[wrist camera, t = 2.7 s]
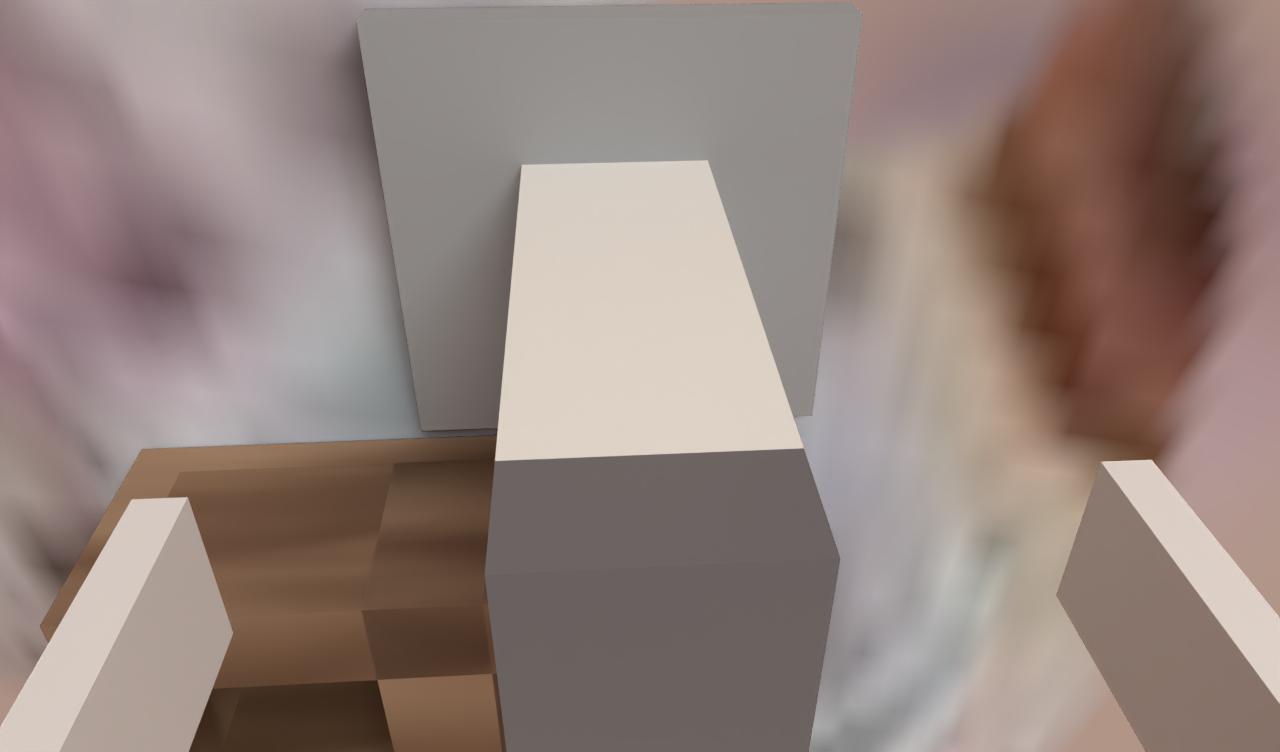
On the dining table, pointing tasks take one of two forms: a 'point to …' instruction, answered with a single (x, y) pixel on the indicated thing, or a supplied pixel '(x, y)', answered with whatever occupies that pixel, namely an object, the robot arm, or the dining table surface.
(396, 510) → the socket block
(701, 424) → the plug
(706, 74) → the panel
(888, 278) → the dining table surface
